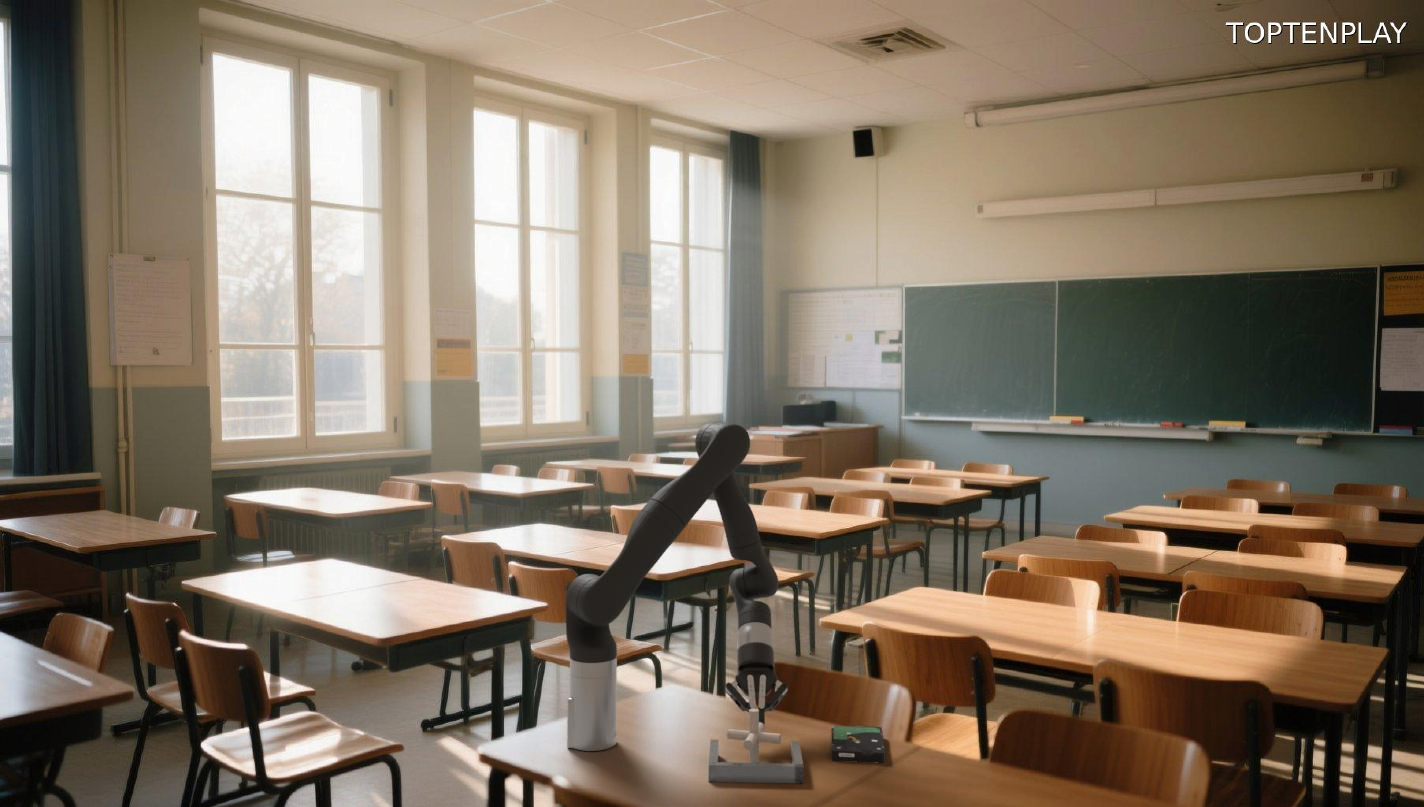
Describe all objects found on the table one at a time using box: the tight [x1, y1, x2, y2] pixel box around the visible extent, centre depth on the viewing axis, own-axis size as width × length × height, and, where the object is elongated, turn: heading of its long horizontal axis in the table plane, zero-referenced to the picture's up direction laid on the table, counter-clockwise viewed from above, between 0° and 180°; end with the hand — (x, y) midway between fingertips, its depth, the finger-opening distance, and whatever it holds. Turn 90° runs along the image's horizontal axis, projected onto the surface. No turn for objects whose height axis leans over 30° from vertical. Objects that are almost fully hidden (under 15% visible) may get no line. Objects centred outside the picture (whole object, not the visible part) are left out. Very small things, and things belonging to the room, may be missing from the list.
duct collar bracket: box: [707, 739, 805, 784], centre depth 188 cm, size 17×14×3 cm
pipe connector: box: [726, 708, 782, 763], centre depth 191 cm, size 10×10×10 cm
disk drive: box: [830, 724, 886, 764], centre depth 199 cm, size 10×3×15 cm
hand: (757, 729), depth 197 cm, fingers closed
